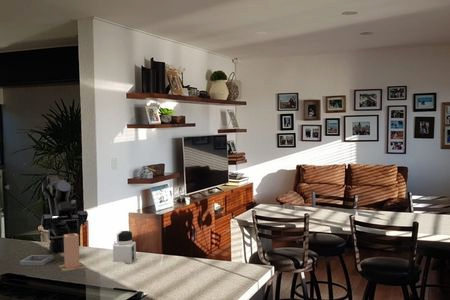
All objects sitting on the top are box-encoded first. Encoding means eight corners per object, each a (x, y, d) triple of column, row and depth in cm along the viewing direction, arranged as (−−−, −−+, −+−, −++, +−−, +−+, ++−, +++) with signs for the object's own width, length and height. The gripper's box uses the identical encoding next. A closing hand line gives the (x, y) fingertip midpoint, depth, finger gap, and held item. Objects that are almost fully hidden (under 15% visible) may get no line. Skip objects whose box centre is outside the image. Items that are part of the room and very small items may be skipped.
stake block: (58, 267, 187) (58, 257, 187) (81, 264, 192) (80, 254, 192) (62, 273, 180) (62, 262, 179) (85, 269, 184) (85, 258, 184)
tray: (31, 260, 199) (31, 255, 199) (53, 260, 199) (53, 255, 198) (19, 267, 189) (19, 261, 189) (42, 267, 189) (42, 261, 188)
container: (136, 259, 199) (135, 229, 198) (131, 264, 191) (130, 233, 191) (119, 258, 200) (118, 229, 199) (113, 263, 192) (112, 233, 192)
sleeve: (64, 265, 187) (63, 234, 186) (77, 264, 189) (76, 233, 189) (66, 268, 182) (65, 237, 182) (79, 267, 185) (78, 235, 184)
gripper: (41, 196, 191) (46, 226, 182) (86, 192, 200) (93, 221, 191) (39, 212, 198) (43, 241, 189) (82, 207, 207) (89, 236, 198)
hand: (67, 234), depth 192 cm, fingers open, 9 cm apart
